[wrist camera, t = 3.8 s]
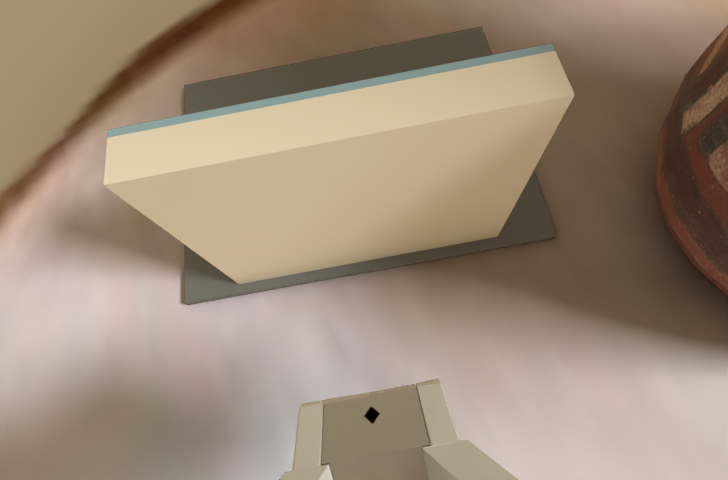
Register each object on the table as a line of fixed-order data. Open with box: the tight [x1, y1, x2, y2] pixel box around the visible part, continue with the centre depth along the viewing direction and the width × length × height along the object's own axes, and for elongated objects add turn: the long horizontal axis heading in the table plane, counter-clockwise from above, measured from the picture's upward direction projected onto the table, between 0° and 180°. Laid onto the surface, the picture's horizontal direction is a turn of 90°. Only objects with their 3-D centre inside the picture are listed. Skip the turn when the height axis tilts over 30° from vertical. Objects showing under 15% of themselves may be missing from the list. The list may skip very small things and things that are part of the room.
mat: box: [184, 27, 557, 305], centre depth 25 cm, size 20×15×1 cm
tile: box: [103, 43, 575, 284], centre depth 18 cm, size 14×2×11 cm, turn 99°
